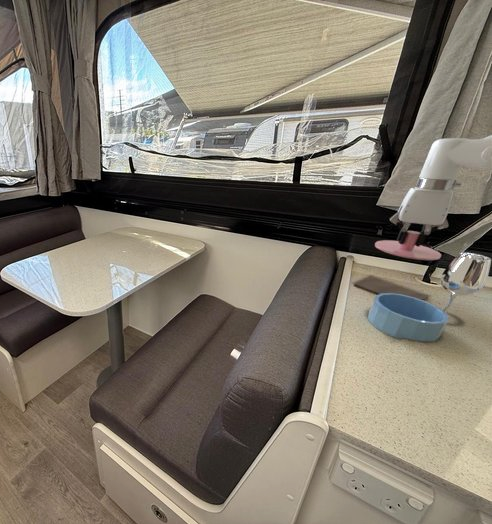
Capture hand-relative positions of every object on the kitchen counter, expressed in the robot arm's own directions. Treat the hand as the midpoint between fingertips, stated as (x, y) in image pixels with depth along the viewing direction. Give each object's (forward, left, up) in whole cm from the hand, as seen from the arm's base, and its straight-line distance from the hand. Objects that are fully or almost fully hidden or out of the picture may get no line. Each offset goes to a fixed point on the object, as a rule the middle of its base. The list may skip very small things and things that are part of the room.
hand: (408, 243), depth 85 cm
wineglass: (-15, +6, -18) cm, 24 cm away
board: (0, 0, -18) cm, 18 cm away
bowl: (-11, +20, -18) cm, 29 cm away
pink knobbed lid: (0, 0, -2) cm, 2 cm away
